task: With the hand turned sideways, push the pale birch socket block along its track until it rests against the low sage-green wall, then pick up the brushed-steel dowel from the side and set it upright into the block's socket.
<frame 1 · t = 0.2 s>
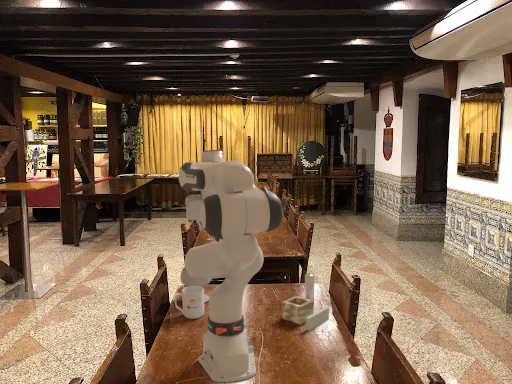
hand: (214, 229, 165), 39 cm above the table, tool pointing down, fingers open, 8 cm apart
dowel: (309, 305, 191), on the table
mug: (189, 316, 182), on the table
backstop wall: (317, 324, 172), on the table
socket block: (298, 309, 178), point 4 cm above the table, slide at 0.0 cm
chalice: (196, 300, 199), on the table
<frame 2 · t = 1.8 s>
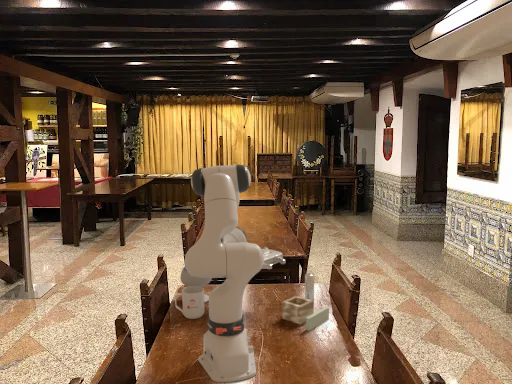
hand: (277, 264, 182), 21 cm above the table, tool horizontal, fingers open, 8 cm apart
nothing on the table moved.
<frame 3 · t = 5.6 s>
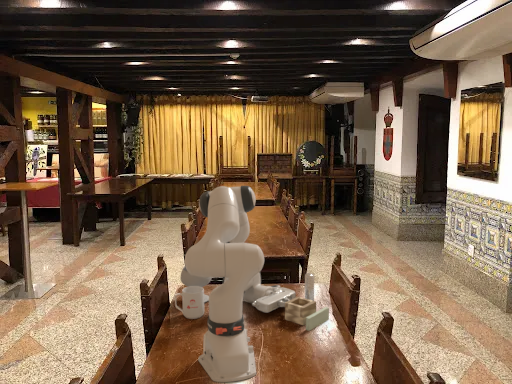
hand: (291, 304, 179), 5 cm above the table, tool horizontal, fingers closed, pressing on socket block
socket block: (300, 310, 177), point 4 cm above the table, slide at 1.3 cm, touching gripper
everything else where it was.
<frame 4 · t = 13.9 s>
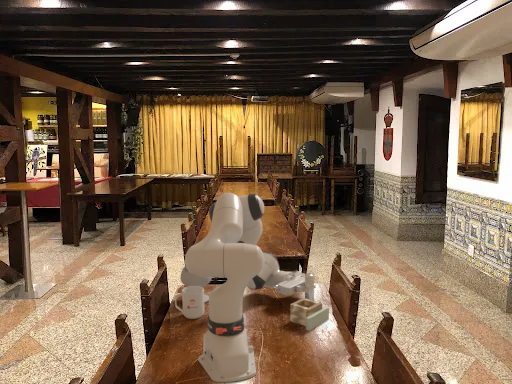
hand: (311, 288, 190), 8 cm above the table, tool horizontal, fingers closed on dowel, 4 cm apart
dowel: (309, 305, 191), on the table, touching gripper
socket block: (306, 312, 175), point 4 cm above the table, slide at 4.0 cm
everything else where it was.
when the fingers open (12 cm above the table, at t = 18.7 s): dowel stays where it is, resting on socket block.
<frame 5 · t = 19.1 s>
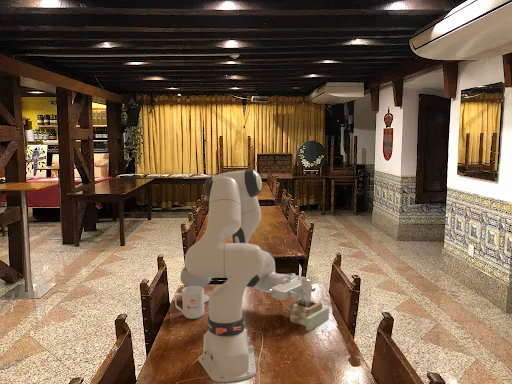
hand: (308, 292, 173), 12 cm above the table, tool horizontal, fingers open, 8 cm apart
dowel: (306, 313, 175), point 3 cm above the table, touching socket block
socket block: (306, 312, 175), point 4 cm above the table, slide at 4.0 cm, touching dowel
everything else where it was.
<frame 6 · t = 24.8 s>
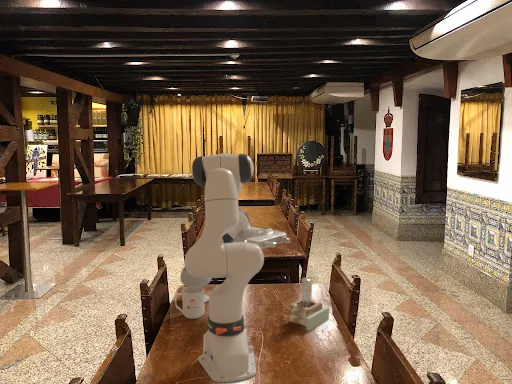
hand: (282, 243, 180), 30 cm above the table, tool horizontal, fingers open, 8 cm apart
nothing on the table moved.
at the end: socket block slide at 4.0 cm; dowel 0.0 cm from the target spot, point 3.2 cm above the table; dowel tilted 1° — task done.
